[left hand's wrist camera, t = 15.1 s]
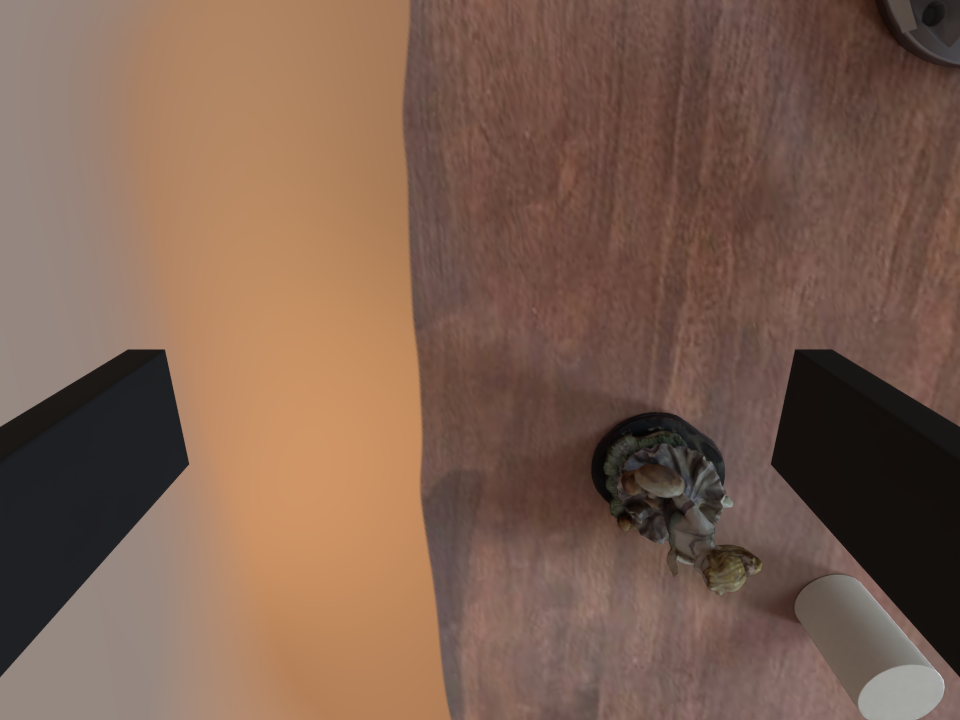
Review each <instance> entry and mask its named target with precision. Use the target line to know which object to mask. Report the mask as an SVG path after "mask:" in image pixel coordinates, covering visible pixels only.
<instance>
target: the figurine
mask: <svg viewBox="0 0 960 720" xmlns="http://www.w3.org/2000/svg"><path fill="white" fill-rule="evenodd" d="M724 478H725V467H724V462H723V458H722V455H721V453H720V451H719V450H718V448H717V447H716V445H715V444H714V442H713V441H712V440H710V439H709V438H708V437H706V436H705V435H703V434H702V433H700V432H699V431H698V430H697V429H696V428H694V427H693V426H691V425H690V424H689V423H687V422H686V421H684V420H683V419H682V418H680V417H678V416H676V415H673V414H668V413H656V412H655V413H648V414H643V415H639V416H636V417H633V418H630V419H628V420H626V421H624V422H622V423H621V424H619V425H617V426H616V427H615V428H614V429H612V430H611V431H610V432H609V433H608V434H607V435H606V436H605V437H604V438H603V439H602V441H601V442H600V443H599V444H598V446H597V448H596V450H595V453H594V457H593V461H592V479H593V482H594V485H595V487H596V489H597V491H598V492H599V494H600V495H601V496H602V497H603V498H604V499H605V500H606V501H607V502H608V503H609V504H610V511H611V515H613V516H614V517H616V518H617V522H618V526H619V527H620V528H621V529H622V530H623V531H624V532H627V531H628V530H629V528H631V529H633V530H637V531H639V532H640V534H641V535H642V536H645V537H647V538H648V539H650V540H651V541H653V542H656V543H665V541H669V543H670V547H671V549H670V551H669V553H668V556H667V563H668V566H669V568H670V570H671V572H672V573H673V576H675V575H677V574H678V564H677V561H678V562H681V563H684V564H689V565H693V564H694V568H695V569H696V570H697V571H698V572H699V573H700V574H701V575H702V576H703V578H704V581H705V583H706V585H707V587H708V588H709V589H710V590H711V591H715V592H716V594H717V595H722V594H723V593H725V592H736V591H737V590H738V589H740V588H741V587H742V586H743V585H744V583H745V581H746V578H747V577H748V576H752V575H754V574H756V573H757V572H759V571H760V570H761V566H762V562H761V561H760V560H759V558H758V557H756V556H755V555H753V554H752V553H750V552H749V551H747V550H746V549H744V548H742V547H739V546H735V545H718V546H715V543H714V534H715V527H714V525H715V524H717V523H718V519H719V517H720V515H721V513H722V511H723V507H732V506H733V501H732V500H731V499H730V498H729V497H728V496H726V491H725V489H724V488H723V484H724Z"/></svg>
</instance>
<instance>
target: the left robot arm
mask: <svg viewBox="0 0 960 720" xmlns="http://www.w3.org/2000/svg"><path fill="white" fill-rule="evenodd" d="M876 2H877V5H878V8H879V11H880V13H881V16H882V18H883V20H884V22H885V24H886V26H887V27H888V29H889V30H890V32H891V33H892V35H893V36H894V37H895V38H896V40H897V41H898V42H899V43H900V44H901V45H902V46H903V47H905V48H906V49H907V50H908V51H909V52H911V53H912V54H914V55H915V56H917V57H919V58H921V59H923V60H925V61H928V62H930V63H933V64H937V65H941V66H946V67H956V68H959V67H960V0H876ZM188 465H189V461H188V457H187V452H186V447H185V442H184V438H183V433H182V428H181V424H180V419H179V414H178V409H177V405H176V400H175V395H174V390H173V386H172V381H171V376H170V372H169V367H168V362H167V357H166V353H165V350H126V351H125V352H123V353H122V354H120V355H118V356H117V357H115V358H113V359H112V360H110V361H108V362H107V363H105V364H103V365H102V366H100V367H98V368H97V369H95V370H94V371H92V372H90V373H89V374H87V375H85V376H84V377H82V378H80V379H79V380H77V381H75V382H74V383H72V384H70V385H69V386H67V387H65V388H64V389H62V390H60V391H59V392H57V393H56V394H54V395H52V396H51V397H49V398H47V399H46V400H44V401H42V402H41V403H39V404H37V405H36V406H34V407H32V408H31V409H29V410H27V411H26V412H24V413H22V414H21V415H19V416H17V417H16V418H14V419H13V420H11V421H9V422H8V423H6V424H4V425H3V426H1V427H0V677H1V676H2V675H3V673H4V672H5V671H6V670H7V669H8V668H9V667H10V666H11V664H12V663H13V662H14V661H15V660H16V659H17V658H18V657H19V655H20V654H21V653H22V652H23V651H24V650H25V649H26V647H27V646H28V645H29V644H30V643H31V642H32V641H33V640H34V638H35V637H36V636H37V635H38V634H39V633H40V632H41V631H42V629H43V628H44V627H45V626H46V625H47V624H48V623H49V622H50V620H51V619H52V618H53V617H54V616H55V615H56V614H57V613H58V611H59V610H60V609H61V608H62V607H63V606H64V605H65V604H66V602H67V601H68V600H69V599H70V598H71V597H72V596H73V595H74V593H75V592H76V591H77V590H78V589H79V588H80V587H81V585H82V584H83V583H84V582H85V581H86V580H87V579H88V578H89V577H90V575H91V574H92V573H93V572H94V571H95V570H96V569H97V567H98V566H99V565H100V564H101V563H102V562H103V561H104V560H105V558H106V557H107V556H108V555H109V554H110V553H111V552H112V551H113V549H114V548H115V547H116V546H117V545H118V544H119V543H120V542H121V540H122V539H123V538H124V537H125V536H126V535H127V534H128V533H129V531H130V530H131V529H132V528H133V527H134V526H135V525H136V523H137V522H138V521H139V520H140V519H141V518H142V517H143V516H144V514H145V513H146V512H147V511H148V510H149V509H150V508H151V507H152V506H153V504H154V503H155V502H156V501H157V500H158V499H159V498H160V496H161V495H162V494H163V493H164V492H165V491H166V490H167V489H168V487H169V486H170V485H171V484H172V483H173V482H174V481H175V480H176V478H177V477H178V476H179V475H180V474H181V473H182V472H183V471H184V469H185V468H186V467H187V466H188ZM771 465H772V466H773V467H774V468H775V469H776V471H777V472H778V473H779V474H780V475H781V476H782V477H783V478H784V480H785V481H786V482H787V483H788V484H789V485H790V486H791V487H792V489H793V490H794V491H795V492H796V493H797V494H798V495H799V497H800V498H801V499H802V500H803V501H804V502H805V503H806V504H807V506H808V507H809V508H810V509H811V510H812V511H813V512H814V513H815V515H816V516H817V517H818V518H819V519H820V520H821V521H822V522H823V524H824V525H825V526H826V527H827V528H828V529H829V530H830V531H831V533H832V534H833V535H834V536H835V537H836V538H837V539H838V540H839V542H840V543H841V544H842V545H843V546H844V547H845V548H846V549H847V551H848V552H849V553H850V554H851V555H852V556H853V557H854V558H855V560H856V561H857V562H858V563H859V564H860V565H861V566H862V567H863V569H864V570H865V571H866V572H867V573H868V574H869V575H870V577H871V578H872V579H873V580H874V581H875V582H876V583H877V584H878V586H879V587H880V588H881V589H882V590H883V591H884V592H885V593H886V595H887V596H888V597H889V598H890V599H891V600H892V601H893V602H894V604H895V605H896V606H897V607H898V608H899V609H900V610H901V611H902V613H903V614H904V615H905V616H906V617H907V618H908V619H909V620H910V622H911V623H912V624H913V625H914V626H915V627H916V628H917V629H918V631H919V632H920V633H921V634H922V635H923V636H924V637H925V638H926V640H927V641H928V642H929V643H930V644H931V645H932V646H933V648H934V649H935V650H936V651H937V652H938V653H939V654H940V655H941V657H942V658H943V659H944V660H945V661H946V662H947V663H948V664H949V666H950V667H951V668H952V669H953V670H954V671H955V672H956V673H957V675H958V676H959V677H960V427H959V426H957V425H956V424H954V423H952V422H951V421H949V420H947V419H946V418H944V417H943V416H941V415H939V414H938V413H936V412H934V411H933V410H931V409H929V408H928V407H926V406H924V405H923V404H921V403H919V402H918V401H916V400H914V399H913V398H911V397H909V396H908V395H906V394H905V393H903V392H901V391H900V390H898V389H896V388H895V387H893V386H891V385H890V384H888V383H886V382H885V381H883V380H881V379H880V378H878V377H876V376H875V375H873V374H871V373H870V372H868V371H867V370H865V369H863V368H862V367H860V366H858V365H857V364H855V363H853V362H852V361H850V360H848V359H847V358H845V357H843V356H842V355H840V354H838V353H837V352H835V351H834V350H795V353H794V357H793V362H792V367H791V371H790V376H789V381H788V386H787V390H786V395H785V400H784V405H783V409H782V414H781V419H780V423H779V428H778V433H777V438H776V442H775V447H774V452H773V457H772V461H771Z"/></svg>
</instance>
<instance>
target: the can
mask: <svg viewBox="0 0 960 720" xmlns="http://www.w3.org/2000/svg"><path fill="white" fill-rule="evenodd" d="M794 608H795V614H796V616H797V618H798V620H799V621H800V623H801V624H802V626H803V627H804V629H805V630H806V632H807V633H808V635H809V636H810V638H811V639H812V641H813V642H814V644H815V645H816V647H817V648H818V650H819V651H820V653H821V654H822V656H823V657H824V659H825V660H826V662H827V663H828V665H829V666H830V668H831V669H832V671H833V672H834V674H835V675H836V677H837V678H838V680H839V681H840V683H841V684H842V686H843V688H844V689H845V691H846V692H847V694H848V695H849V697H850V698H851V700H852V701H853V703H854V704H855V706H856V707H857V709H858V710H859V712H860V713H861V714H862V716H863V717H865V718H866V719H867V720H917V719H919V718H921V717H923V716H924V715H926V714H927V713H929V712H930V711H931V710H932V709H933V708H934V707H935V706H936V705H937V704H938V703H939V701H940V700H941V698H942V696H943V693H944V682H943V679H942V677H941V676H940V674H939V673H938V672H937V671H936V670H935V669H934V667H933V666H932V665H931V664H930V663H929V662H928V660H927V659H926V658H925V657H924V656H923V655H922V653H921V652H920V651H919V650H918V649H917V648H916V646H915V645H914V644H913V643H912V642H911V641H910V639H909V638H908V637H907V636H906V635H905V634H904V632H903V631H902V630H901V629H900V628H899V627H898V625H897V624H896V623H895V622H894V621H893V620H892V618H891V617H890V616H889V615H888V614H887V613H886V611H885V610H884V609H883V608H882V607H881V606H880V605H879V603H878V602H877V601H876V600H875V599H874V598H873V596H872V595H871V594H870V593H869V592H868V591H867V589H866V588H865V587H864V586H863V585H862V584H861V583H860V582H859V581H858V580H857V579H855V578H853V577H850V576H847V575H829V576H825V577H821V578H819V579H817V580H815V581H813V582H811V583H810V584H808V585H807V586H806V587H805V588H804V589H803V590H802V591H801V592H800V593H799V595H798V597H797V599H796V601H795V607H794Z"/></svg>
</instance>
